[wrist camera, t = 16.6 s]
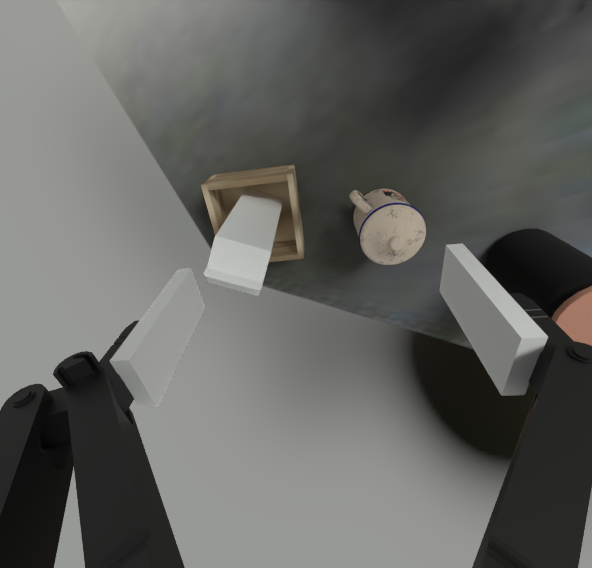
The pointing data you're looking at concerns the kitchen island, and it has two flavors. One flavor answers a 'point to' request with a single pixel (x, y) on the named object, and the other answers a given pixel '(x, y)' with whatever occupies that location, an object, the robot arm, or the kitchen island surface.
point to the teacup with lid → (387, 226)
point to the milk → (245, 243)
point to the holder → (271, 181)
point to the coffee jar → (547, 278)
